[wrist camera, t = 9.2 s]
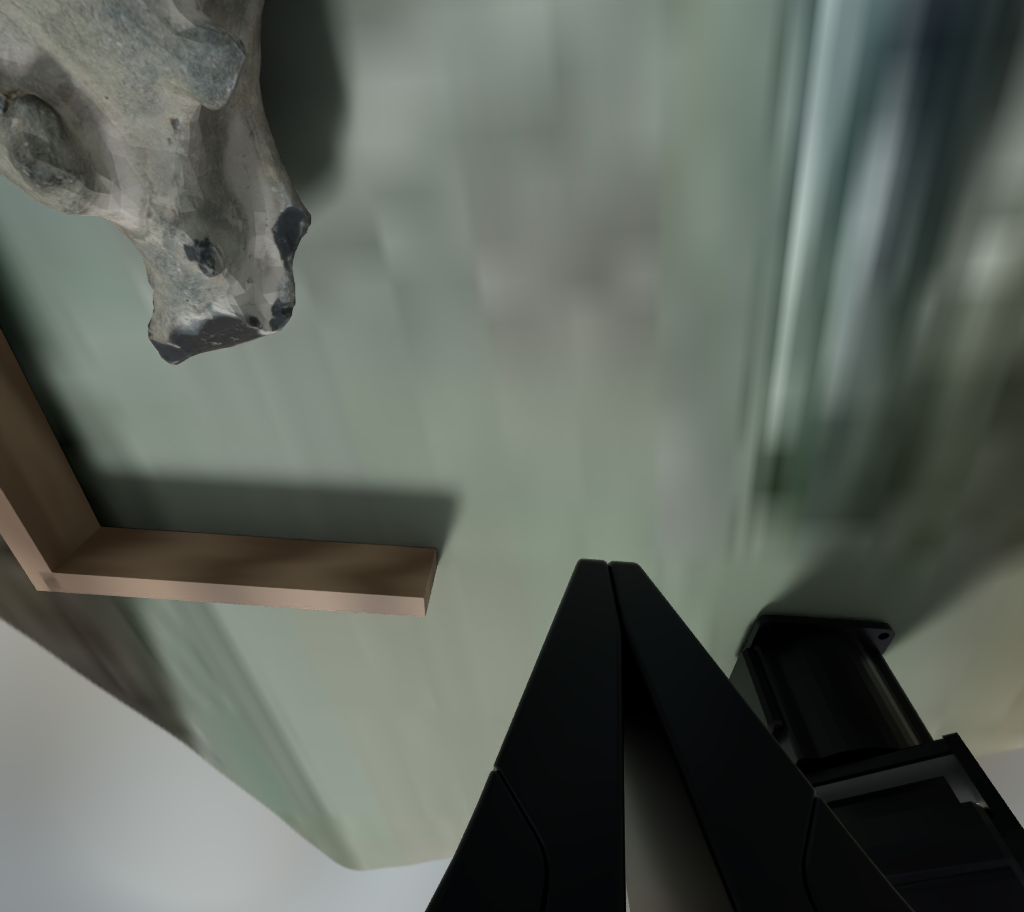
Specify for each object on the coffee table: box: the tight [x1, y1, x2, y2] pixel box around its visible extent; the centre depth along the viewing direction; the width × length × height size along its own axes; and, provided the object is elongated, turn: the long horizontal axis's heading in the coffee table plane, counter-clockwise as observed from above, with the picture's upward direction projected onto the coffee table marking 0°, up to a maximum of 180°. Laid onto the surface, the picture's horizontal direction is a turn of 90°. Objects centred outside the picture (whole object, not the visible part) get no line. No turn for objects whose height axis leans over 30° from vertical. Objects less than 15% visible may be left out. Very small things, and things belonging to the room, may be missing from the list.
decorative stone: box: [0, 0, 311, 365], centre depth 12 cm, size 16×9×10 cm
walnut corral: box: [0, 328, 437, 617], centre depth 17 cm, size 17×28×3 cm, turn 178°
